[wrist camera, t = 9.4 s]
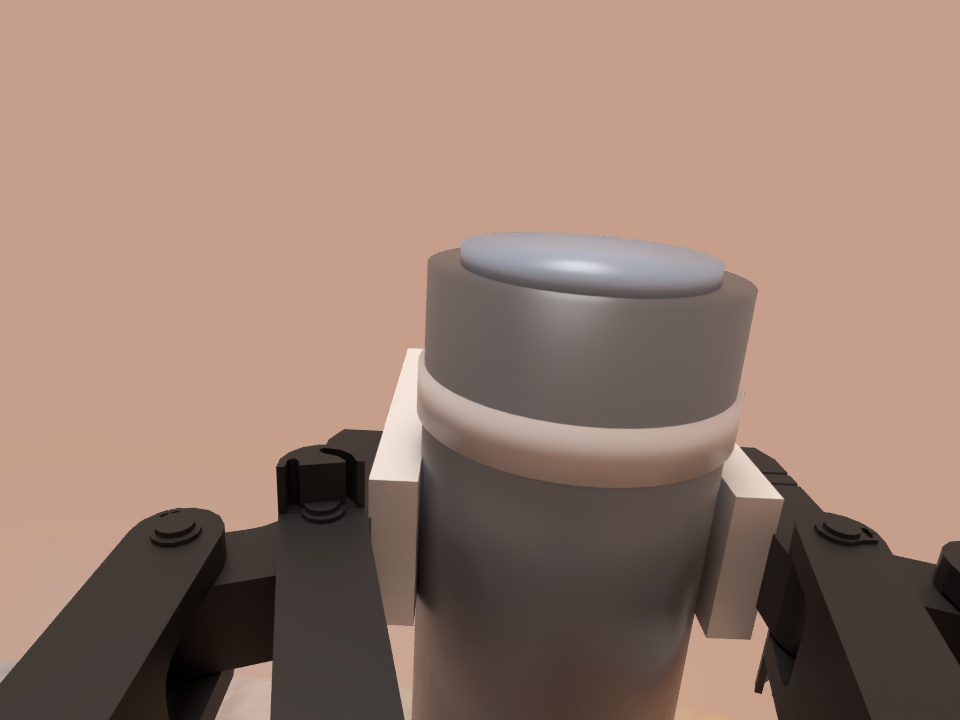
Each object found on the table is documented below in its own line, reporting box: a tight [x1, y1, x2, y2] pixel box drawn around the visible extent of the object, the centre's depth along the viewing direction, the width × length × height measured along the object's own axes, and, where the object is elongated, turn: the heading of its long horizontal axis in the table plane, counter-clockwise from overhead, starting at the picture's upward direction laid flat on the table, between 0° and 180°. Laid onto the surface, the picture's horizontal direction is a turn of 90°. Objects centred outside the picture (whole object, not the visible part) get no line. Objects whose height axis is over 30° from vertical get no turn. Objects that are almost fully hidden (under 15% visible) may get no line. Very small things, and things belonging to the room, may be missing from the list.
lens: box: [412, 232, 758, 720], centre depth 12 cm, size 5×5×11 cm
